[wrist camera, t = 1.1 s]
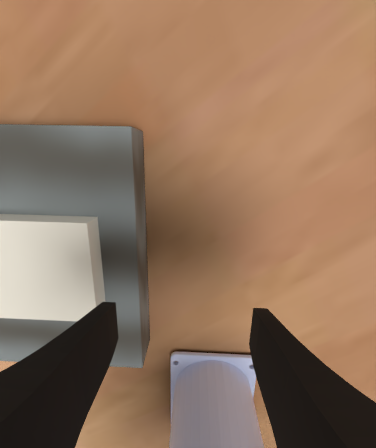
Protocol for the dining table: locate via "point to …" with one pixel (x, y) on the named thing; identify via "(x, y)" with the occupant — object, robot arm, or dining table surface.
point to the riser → (83, 206)
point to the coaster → (49, 267)
